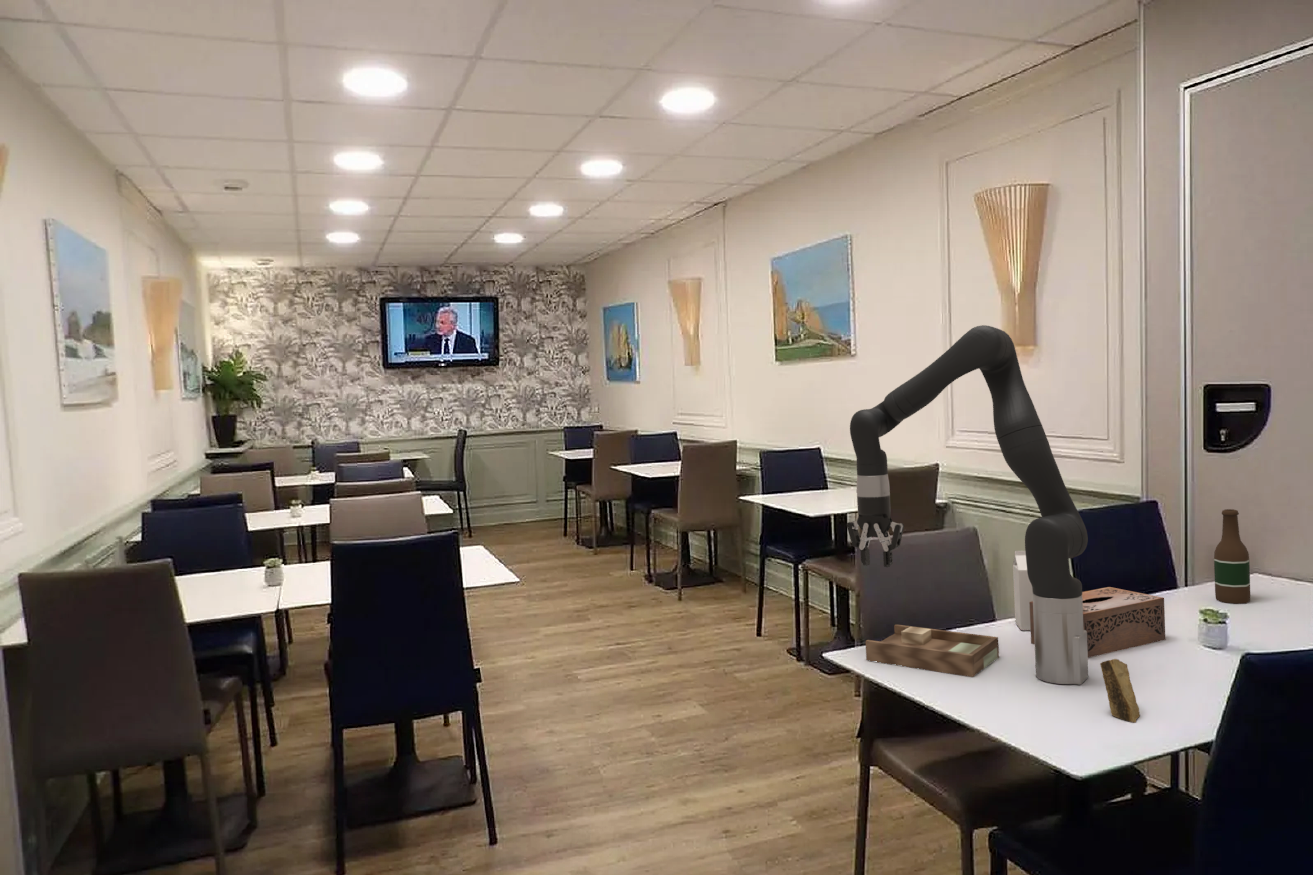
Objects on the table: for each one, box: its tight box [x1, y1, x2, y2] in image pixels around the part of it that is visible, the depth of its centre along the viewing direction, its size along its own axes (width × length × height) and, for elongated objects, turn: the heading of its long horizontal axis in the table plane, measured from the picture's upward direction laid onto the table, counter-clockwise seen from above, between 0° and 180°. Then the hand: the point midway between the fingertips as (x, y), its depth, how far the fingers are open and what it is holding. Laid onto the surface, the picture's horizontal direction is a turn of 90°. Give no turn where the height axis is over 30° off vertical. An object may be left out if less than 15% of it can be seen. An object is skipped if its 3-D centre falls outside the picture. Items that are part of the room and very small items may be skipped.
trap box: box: [865, 623, 1000, 678], centre depth 197 cm, size 24×16×4 cm, turn 50°
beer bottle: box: [1213, 508, 1251, 605], centre depth 231 cm, size 8×8×24 cm
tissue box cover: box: [1029, 586, 1166, 659], centre depth 203 cm, size 26×14×10 cm, turn 113°
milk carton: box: [1012, 550, 1033, 631], centre depth 218 cm, size 7×7×19 cm
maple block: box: [901, 626, 932, 645], centre depth 203 cm, size 5×5×2 cm
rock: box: [1099, 658, 1141, 724], centre depth 160 cm, size 11×9×10 cm
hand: (876, 565), depth 208 cm, fingers open, 4 cm apart
